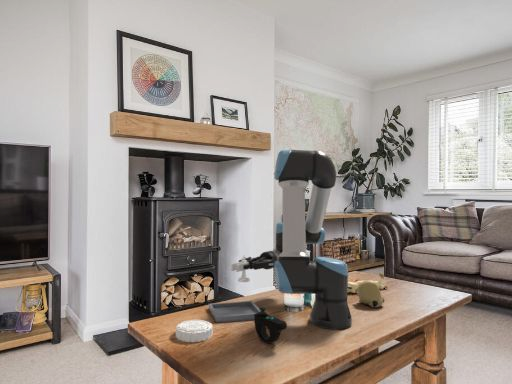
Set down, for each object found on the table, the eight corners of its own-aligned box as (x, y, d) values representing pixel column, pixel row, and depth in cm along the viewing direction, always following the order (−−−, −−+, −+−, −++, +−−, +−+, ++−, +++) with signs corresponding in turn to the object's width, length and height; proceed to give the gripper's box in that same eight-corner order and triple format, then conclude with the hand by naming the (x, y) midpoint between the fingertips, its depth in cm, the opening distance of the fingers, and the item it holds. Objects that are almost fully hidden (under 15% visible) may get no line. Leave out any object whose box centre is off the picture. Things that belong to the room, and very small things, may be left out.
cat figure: (375, 288, 190) (337, 289, 178) (376, 271, 190) (339, 271, 179) (390, 293, 181) (352, 294, 169) (391, 275, 182) (353, 275, 170)
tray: (263, 318, 137) (263, 313, 137) (216, 322, 132) (216, 317, 132) (251, 305, 152) (251, 300, 152) (208, 308, 147) (208, 303, 147)
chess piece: (251, 281, 144) (251, 256, 144) (239, 282, 143) (239, 256, 143) (247, 278, 149) (248, 254, 149) (236, 279, 147) (236, 254, 147)
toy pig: (363, 315, 154) (379, 303, 148) (348, 289, 160) (363, 277, 154) (377, 310, 160) (393, 298, 154) (362, 286, 166) (377, 273, 160)
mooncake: (205, 344, 113) (205, 333, 113) (169, 340, 116) (169, 329, 116) (217, 330, 125) (217, 320, 125) (184, 327, 127) (184, 316, 127)
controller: (260, 335, 121) (261, 305, 121) (288, 347, 112) (289, 314, 112) (251, 338, 118) (251, 307, 118) (279, 351, 109) (279, 317, 109)
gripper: (284, 270, 155) (249, 280, 137) (257, 265, 164) (220, 274, 146) (285, 253, 155) (249, 260, 137) (257, 249, 164) (220, 255, 146)
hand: (234, 267), depth 141 cm, fingers closed on chess piece, 2 cm apart
